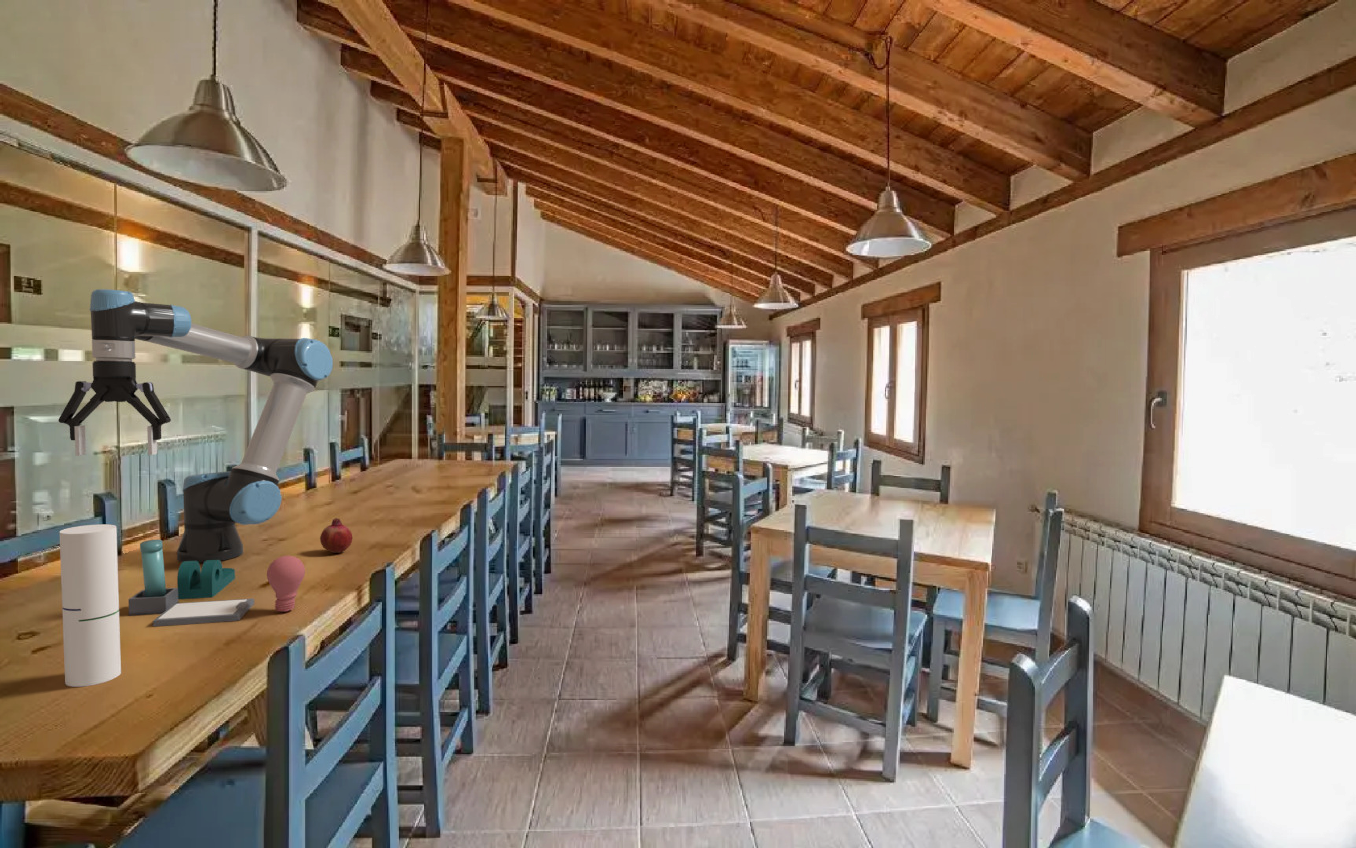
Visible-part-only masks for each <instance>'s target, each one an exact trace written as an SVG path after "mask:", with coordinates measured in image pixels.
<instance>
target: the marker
mask: <svg viewBox="0 0 1356 848" xmlns="http://www.w3.org/2000/svg"><path fill="white" fill-rule="evenodd" d="M163 548H164V545H163V540H161V539H149V540H144V541H142V542H140V543H139V549H140V553H141V554H140V555H141V562H142V563H141V564H142V574H143V584H144V585H143V586H144V590H145V598H146V597H163V596H165V595H166V588H167V587H166V577H165V563H164V554H163Z"/></svg>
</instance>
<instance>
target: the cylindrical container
mask: <svg viewBox="0 0 1356 848" xmlns="http://www.w3.org/2000/svg"><path fill="white" fill-rule="evenodd" d="M117 530H118V529H117V525H114V524H106V523H105V524H104V523H103V524H86V525H79V526H72V527H68V528H65V529H61V530H60V531H59V551H60V552H59V553H60V557H59V559H60V579H61V580H60V581H61V582H60V583H61V605H62V608H61V609H62V633H63V634H62V635H63V636H62V637H63V655H64V656H63V658H64V659H63V660H64V662H63V663H64V684H65V686H68V687H72V688H73V687H74V688H77V687H78V688H79V687H88V686H94V685H99V684H103V683H106V682H109V681H111V680H113V679H115V678H117V677H119V676H120V675H121V674H122V665H121V664H122V663H121V660H122V659H121V658H122V657H121V635H120V634H121V633H120V632H121V629H120V602H119V600H120V599H119V598H120V597H119V595H120V594H119V567H118V566H119V564H118V562H119V561H118V535H117Z"/></svg>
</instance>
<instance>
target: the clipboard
mask: <svg viewBox="0 0 1356 848" xmlns="http://www.w3.org/2000/svg"><path fill="white" fill-rule="evenodd" d="M254 605H255V598H239V599H224V600H223V599H222V600H209V601H205V600H204V601H194V602H193V601H191V602H178V603H175V604H174V605H172V606H171V607H170V608H168V609H167V610H166V611H165V612H163V613H162V614H159V615H158V616H157V617H155V619H154V620H152V626H153V627H165V626H180V625H194V624H195V625H196V624H209V623H210V624H211V623H221V622H223V623H224V622H225V623H226V622H237V621H240V620H241V619H242V618H243V617H244V616H245V615H246V614H247V612H248V611H249V610H250V609H251V608H252V607H253V606H254Z"/></svg>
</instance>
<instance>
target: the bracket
mask: <svg viewBox="0 0 1356 848" xmlns="http://www.w3.org/2000/svg"><path fill="white" fill-rule="evenodd" d="M176 577H177V580H176V582H177V588H178V600H191V599H192V600H193V599H209V598H214V597H215V596H216V595H217V594H219V593H220V592H221V591H222V590H224V588H226V587H227V586H228V585H229V584H231V583H232V582H233V581H235V579H236V569H235V568H232V567H223V564H222V560H221V561H220V560H206V561H205V562H204V563H202V567H201V566H200V563H199V562H198V561H184V562H181V563H180V565H179V568H178V571H177V576H176Z"/></svg>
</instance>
